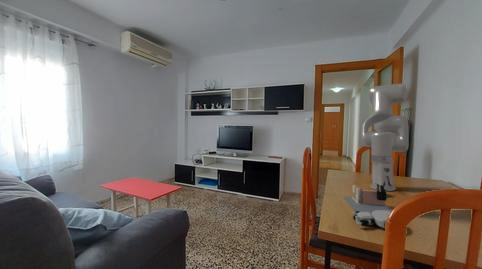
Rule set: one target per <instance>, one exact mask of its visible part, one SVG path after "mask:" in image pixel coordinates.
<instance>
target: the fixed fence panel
mask: <svg viewBox="0 0 482 269" xmlns="http://www.w3.org/2000/svg"><path fill="white" fill-rule="evenodd" d="M362 190H363V189H362V188H359V187H358V186H357V185H355V184H353V185H352V197H353V198H354V199H355V200H356V201H357V202H358V203H359V204H362Z"/></svg>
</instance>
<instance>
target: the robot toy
mask: <svg viewBox="0 0 482 269" xmlns="http://www.w3.org/2000/svg"><path fill="white" fill-rule="evenodd" d="M390 211H391V210H388V211H386V210H375V211H373V212H372V213H370V212H360V211H355V210H354V211H351V212H350V213H351V215H353V216H352V217H353V220H354V221H355V223H356V225H358V226H362V227H365V226H366V227H367V226H373V225H374V224H376V226H378V227H380V228H381V229H385V222H386V220H387V217H388V215H389V214H390Z"/></svg>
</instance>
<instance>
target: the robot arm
mask: <svg viewBox="0 0 482 269" xmlns="http://www.w3.org/2000/svg"><path fill="white" fill-rule="evenodd" d="M367 95H368V98H369V101H370V104H371V106H372V107H371V108H372V109H371V110H372V111H371V112H372V113H371V114H370V115H369V116H368V117H366V118H365V120H364V122H363V123H362V126H361V129H360V130H361V132H360V141H361V144H362V146H364V147H367V148H369V147H370V148H371V163H372V168H371V170H372V171H371V181H372V183H370V185H369V187H370V188H371V189H373V190H375V191H377V199H378V200H382V201H385V202H386V201H387V199H386V194H387V192H394V191H396V190H397V187H396V186H394V172H393V169H394V168H393V161H394V160H393V158H392V155H393V154H392V152H394V153H395V152H396V153H397V152H398V153H399V152H400V153H402V152H403V153H404V152H407V151H408V149H409V140H410V139H409V121H408V118H407V117H406V116H404V115H393V104H401V103H405V102H406V101H407V99H408V89H407V87H406V85H405V84H404V83H393V84H392V83H391V84H385V85H384V84H383V85H377V86H373V87H370V88H369V90H368V94H367ZM372 126H373V128H374V130H375V131H369V129H370V127H372ZM395 133H396V134H395Z"/></svg>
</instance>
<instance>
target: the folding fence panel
mask: <svg viewBox="0 0 482 269" xmlns="http://www.w3.org/2000/svg"><path fill="white" fill-rule="evenodd" d="M377 191H378V190H372V189H370V190H368V189H362V203H367V204H380V205H386V201H382V200H378V199H377Z"/></svg>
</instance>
